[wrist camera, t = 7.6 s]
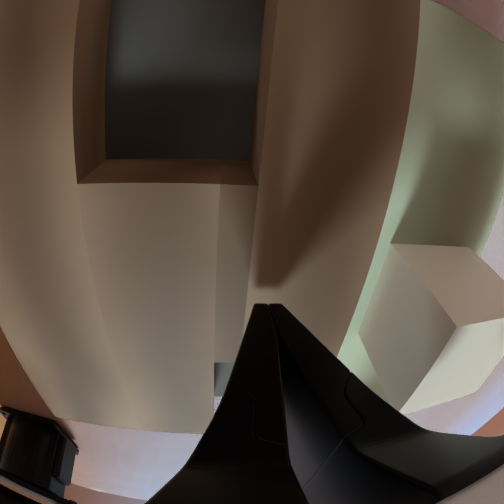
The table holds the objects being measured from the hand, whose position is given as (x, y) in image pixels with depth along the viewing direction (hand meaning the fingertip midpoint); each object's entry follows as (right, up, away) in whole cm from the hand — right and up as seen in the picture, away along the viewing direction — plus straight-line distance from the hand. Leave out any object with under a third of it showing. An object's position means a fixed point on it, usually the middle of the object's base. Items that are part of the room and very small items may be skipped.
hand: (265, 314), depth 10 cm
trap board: (-1, +2, +3) cm, 4 cm away
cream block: (+6, 0, +1) cm, 6 cm away
